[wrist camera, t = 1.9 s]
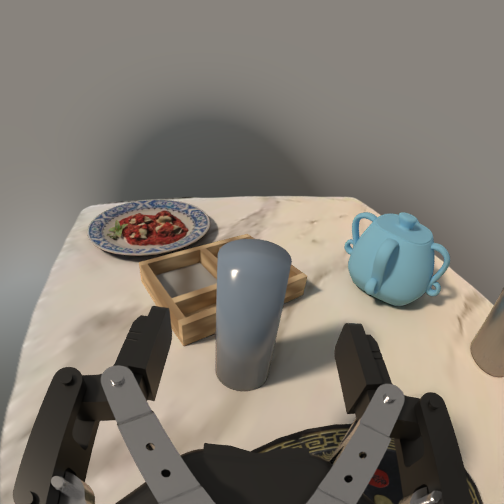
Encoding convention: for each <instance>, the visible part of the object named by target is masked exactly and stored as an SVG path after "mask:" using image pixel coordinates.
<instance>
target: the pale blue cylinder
mask: <svg viewBox="0 0 504 504" xmlns="http://www.w3.org/2000/svg"><path fill="white" fill-rule="evenodd" d="M291 262H292V261H291V257H290V255H289V253H288V252H287V251H286V250H285V249H283V248H282V247H280V246H279V245H276V244H274V243H272V242H268V241H264V240H259V239H239V240H234V241H231V242H229V243H227V244H225V245H223V246H222V247H221V248H220V250H219V252H218V263H217V297H216V364H215V370H216V375H217V377H218V379H219V380H220V382H221V383H222V384H224V385H225V386H226V387H228V388H230V389H233V390H237V391H250V390H254V389H256V388H258V387H260V386H261V385H262V384H264V382H265V381H266V380H267V377H268V374H269V369H270V365H271V360H272V356H273V351H274V347H275V342H276V337H277V332H278V328H279V323H280V318H281V313H282V308H283V303H284V298H285V293H286V288H287V283H288V278H289V273H290V267H291Z"/></svg>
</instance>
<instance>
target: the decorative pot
mask: <svg viewBox="0 0 504 504" xmlns="http://www.w3.org/2000/svg"><path fill="white" fill-rule="evenodd" d="M362 218H366V219H369V220H371V221H372V224H371V225H370V226H369V227H368V228H367V229H366V230H365V231H364V233H363V234H362V235H361V237H360V238H359V221H360V219H362ZM352 235H353V240H352V239H350V240H348V241H347V242H346V243H345V250H346V252H347V253H348V254H350V255H351V256H350V259H349V262H348V269H349V273H350V276H351V278H352V280H353V282H354V283H355V284H356V285H357V286H358V287H359V288H361V289H362V290H364V291H365V292H366V293H367V294H369V295H372V296H374V297H376V298H378V299H380V300H382V301H384V302H386V303H389V304H391V305H393V306H402V305H406V304H409V303H411V302H413V301H415V300H416V299H418V298H419V297H421V296H422V295H423V294H424V293H425V292H426V293H427V294H428V295H429V296H436V295H438V294H439V292H440V290H441V286H440V284H439V283H438V282H436V281H437V280H438V279H439V278H440V277H441V276H442V275H443V274H444V273H445V271H446V270H447V268H448V266H449V264H450V256H449V253H448V251H447V250H446V249H445V248H444V247H443V246H442V245H440V244H437V243H434V241H433V235H432V232H431V231H430V230H429V229H428V228H427V227H425V226H423V225H421V224H420V223H419V221H418V220H417V218H416V217H414V216H413V215H411V214H408V213H400V214H399V215H397V214H384V215H381V216H379V217H378V218H377V217H376V216H375V215H374V214H372V213H368V212H364V213H360V214H358V215H357V216H356V217H355V218H354V220H353V223H352ZM350 244H353V248H351V246H350ZM434 250H436V251H438V252H440V253H441V254H442V255H443V257H444V263H443V265H442V267H441V268H440V270H439V271H438V272H437V273H436V274H435V275H434V276H433V277H432V275H433V270H434ZM432 285H433V286H435V287H436V290H433V289H432V288H431V286H432Z"/></svg>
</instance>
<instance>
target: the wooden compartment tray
mask: <svg viewBox="0 0 504 504" xmlns="http://www.w3.org/2000/svg"><path fill="white" fill-rule="evenodd" d="M239 239H254V238H253V237H251V236H250V235H248V234H245V235H241V236H237V237H233V238H229V239H225V240H221V241H217V242H214V243H210V244H206V245H202V246H198V247H194V248H191V249H187V250H183V251H179V252H175V253H172V254H168V255H164V256H160V257H157V258H153V259H149V260H146V261H142V262H139V266H140V273H141V281H142V283H143V284H144V286H145V288H146V289H147V291H148V293H149V294H150V296H151V297H152V299H153V301H154V302H155V304H156V305H157V306H158V307H166V308H169V310H170V318H171V328H172V330H173V331H174V333H175V334H176V336H177V337H178V338H179V340H180V341H181V343H182V344H183V346H185V345H188V344H190V343H193V342H195V341H198V340H200V339H203V338H205V337H208V336H210V335H213V334H215V333H216V297H217V263H218V252H219V250H220V248H221V247H222V246H223V245H225V244H227V243H229V242H231V241H234V240H239ZM306 280H307V275H305V274H304V273H302V272H301V271H300V270H298V269H297V268H295V267H294V266H293V265H291V267H290V273H289V278H288V283H287V288H286V293H285V298H284V303H286V302H288V301H291V300H293V299H295V298H297V297H299V296H301V295H303V293H304V288H305V284H306ZM284 303H283V304H284Z"/></svg>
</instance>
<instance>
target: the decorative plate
mask: <svg viewBox="0 0 504 504" xmlns="http://www.w3.org/2000/svg"><path fill="white" fill-rule="evenodd" d="M351 425H352V424H335V425H330V426H324V427H318V428H312V429H306V430H303V431H300V432H297V433H294V434H291V435H288V436H284V437H281V438H278V439H276V440H274V441H272V442H270V443H268V444H266V445H263V446H261V447H259V448H257V449H255V450H252V451H251V452H254V453H263V452H268V451H273V450H278V449H282V448H309V453H310V454H313V455H316V456H319V457H321V458H324V459H325V460H327V461H328V459H329V458H330V457H331V455H332V454H333V453H334V452H335V450H336V449H337V447H338V446H339V444H340V443H341V441H342V440H343V438H344V437H345V435H346V433H347V432H348V430H349V429H350V427H351ZM464 469H465V468H464ZM465 473H466V478H467V482H468V487H469V491H470V496H471V502H472V504H483V503H482V500H481V497H480V495H479V492H478V490H477V487H476V485H475V483H474V482H473V480H472V479H471V477H470V476H469V474H468V473H467V471H466V470H465ZM363 493H364V494H365V495H366V496H367V497H368V498H369V499H371V500H372V501H373V502H374V503H375V504H399V502H400V501H401V500H402V499H403V492H402V485H401V478H400V472H399V466H398V460H397V454H396V449H395V443H394V438H391V441H390V443H389V446H388V448H387V450H386V452H385V454H384V456H383V458H382V460H381V461H380V463H379V465H378V467H377V469H376V471H375V473H374V475H373V476H372V478H371V480H370V482H369V483H368V485H367V487H366V488H365V490H364V492H363Z"/></svg>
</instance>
